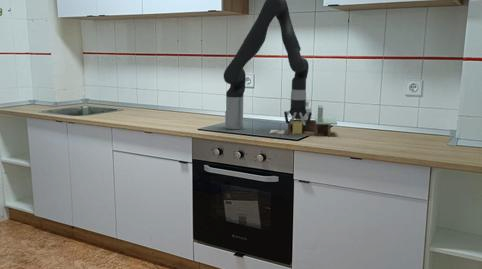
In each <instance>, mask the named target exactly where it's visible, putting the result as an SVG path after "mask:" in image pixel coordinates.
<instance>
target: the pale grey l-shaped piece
mask: <svg viewBox="0 0 482 269" xmlns="http://www.w3.org/2000/svg"><path fill="white" fill-rule="evenodd" d="M323 114H324V106H323V105H322V104H321V105H320V104H319V105H317V118H315V119H314V120H315V121H316V124H329V125H331V126H332V125H333V126H337V125H338V122H337V120H336V118H323V116H324V115H323Z"/></svg>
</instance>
